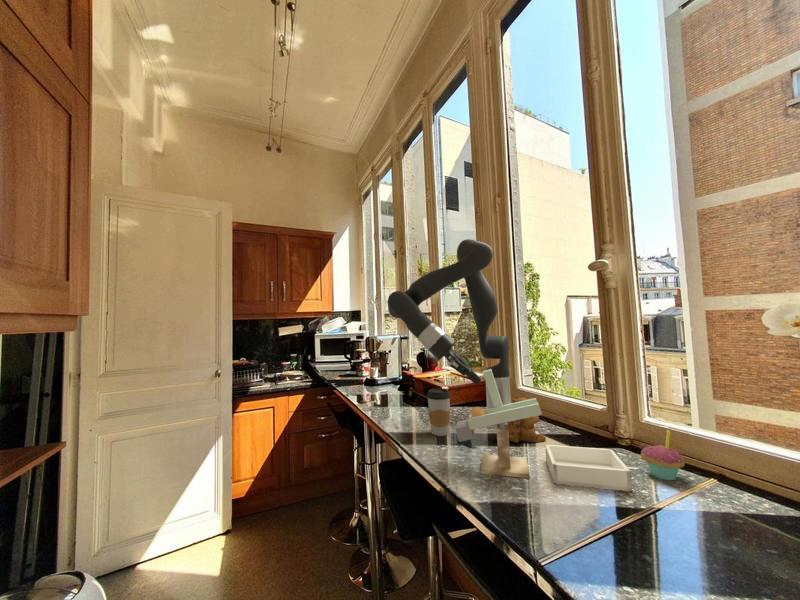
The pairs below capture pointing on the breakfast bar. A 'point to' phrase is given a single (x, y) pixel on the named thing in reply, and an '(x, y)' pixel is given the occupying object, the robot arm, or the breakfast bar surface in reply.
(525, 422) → the stuffed squirrel
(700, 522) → the breakfast bar surface
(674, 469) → the cupcake
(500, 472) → the fulcrum stand
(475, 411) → the ball
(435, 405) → the coffee cup
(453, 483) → the breakfast bar surface
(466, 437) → the tilting chute
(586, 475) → the tub
